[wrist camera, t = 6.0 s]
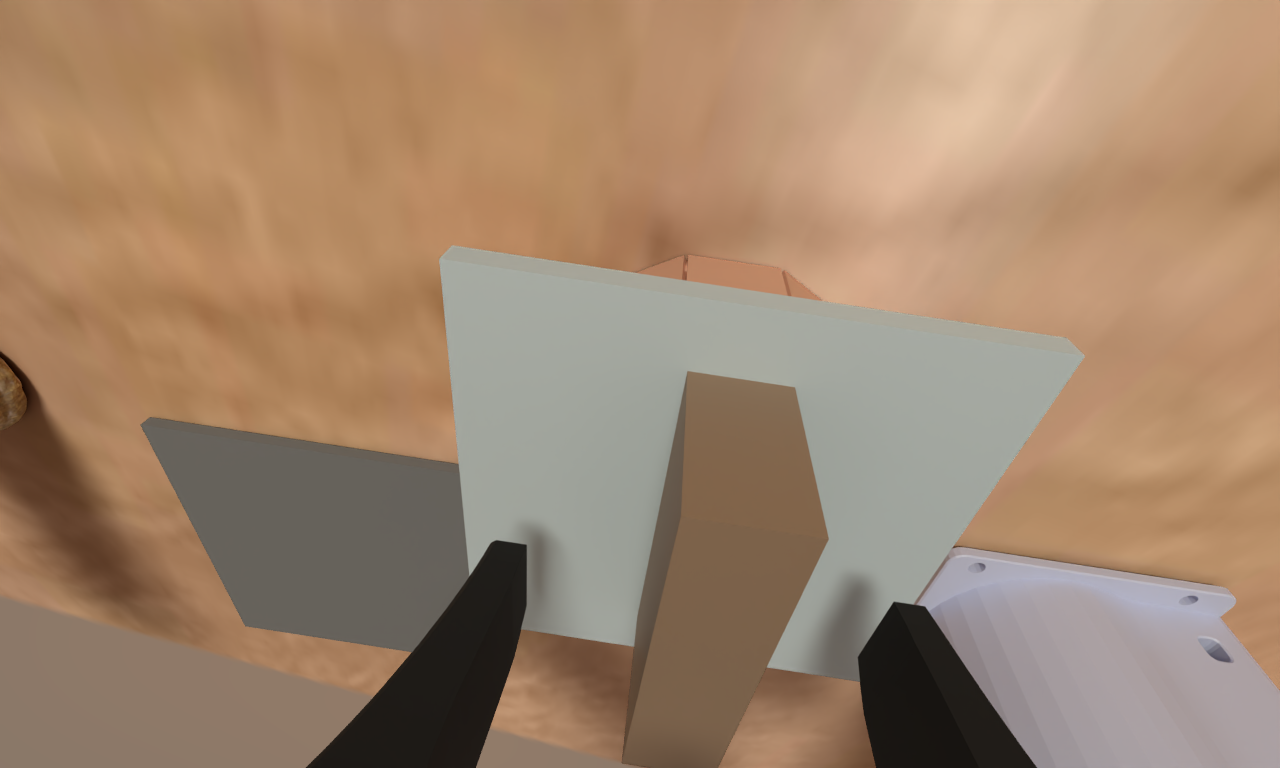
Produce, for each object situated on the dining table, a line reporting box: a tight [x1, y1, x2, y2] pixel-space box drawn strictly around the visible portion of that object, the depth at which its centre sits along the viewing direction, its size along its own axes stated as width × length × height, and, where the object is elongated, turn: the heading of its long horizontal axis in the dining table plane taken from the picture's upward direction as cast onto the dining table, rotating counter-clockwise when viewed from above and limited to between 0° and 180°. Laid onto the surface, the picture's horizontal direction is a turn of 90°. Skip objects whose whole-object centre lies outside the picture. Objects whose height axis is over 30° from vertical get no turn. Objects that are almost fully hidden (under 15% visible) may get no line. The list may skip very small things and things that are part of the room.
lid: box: [439, 245, 1085, 768], centre depth 12 cm, size 11×11×4 cm
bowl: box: [636, 255, 822, 301], centre depth 15 cm, size 9×9×4 cm
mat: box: [141, 417, 469, 652], centre depth 22 cm, size 12×12×1 cm
